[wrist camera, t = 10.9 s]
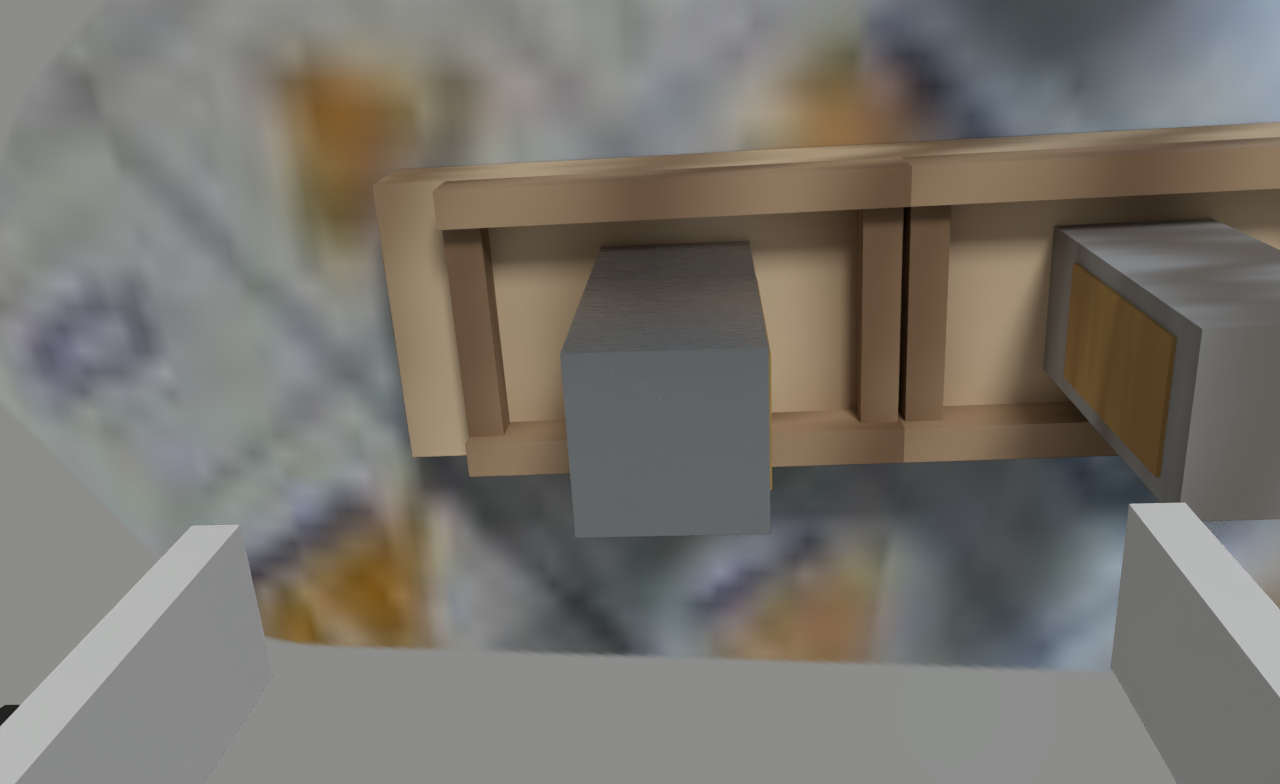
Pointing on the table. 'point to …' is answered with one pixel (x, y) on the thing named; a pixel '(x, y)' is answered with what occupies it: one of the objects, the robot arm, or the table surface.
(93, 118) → the table surface
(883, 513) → the table surface
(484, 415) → the light wooden long frame
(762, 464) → the grey rectangular prism
